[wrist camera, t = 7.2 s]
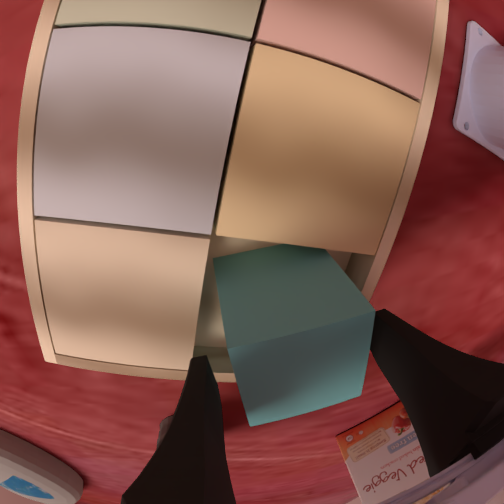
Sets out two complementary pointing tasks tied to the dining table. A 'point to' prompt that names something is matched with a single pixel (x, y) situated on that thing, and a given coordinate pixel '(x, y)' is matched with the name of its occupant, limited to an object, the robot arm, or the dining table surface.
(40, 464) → the grey thick round disc
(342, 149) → the puzzle board
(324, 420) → the dining table surface
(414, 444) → the cracker box
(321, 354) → the teal block
